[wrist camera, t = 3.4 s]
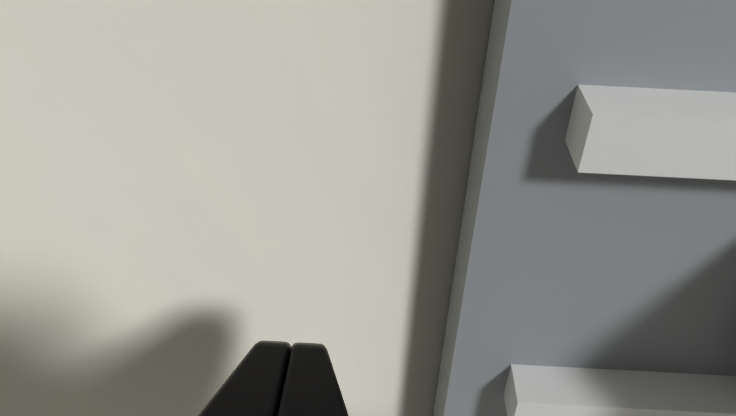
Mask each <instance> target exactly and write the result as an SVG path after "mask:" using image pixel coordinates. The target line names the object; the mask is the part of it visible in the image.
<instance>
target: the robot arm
mask: <svg viewBox="0 0 736 416" xmlns="http://www.w3.org/2000/svg"><path fill="white" fill-rule="evenodd" d="M198 416H348V413H347V409H346V406H345V403H344V400H343V397H342V394H341V391H340V388H339V385H338V382H337V379H336V376H335V373H334V370H333V366H332V363H331V360H330V357H329V354H328V351H327V349H326V347H325V346H324V345H323V344H315V343H295V344H293V346H292V347H291V345H290V344H289V343H287V342H278V341H260V342H258V343H256V344H255V345H254V346H253V347H252V349H251V350H250V351H249V352H248V354H247V355H246V356H245V357H244V359H243V360H242V361H241V363H240V364H239V365H238V366H237V368H236V369H235V370H234V371H233V373H232V374H231V375H230V376H229V378H228V379H227V380H226V381H225V383H224V384H223V385H222V386H221V388H220V389H219V390H218V391H217V393H216V394H215V395H214V396H213V398H212V399H211V400H210V401H209V403H208V404H207V405H206V406H205V408H204V409H203V410H202V412H201V413H200V414H199V415H198Z"/></svg>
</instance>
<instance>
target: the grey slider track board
mask: <svg viewBox="0 0 736 416" xmlns="http://www.w3.org/2000/svg"><path fill="white" fill-rule="evenodd" d="M433 416H736V0H494V6H493V13H492V20H491V26H490V33H489V40H488V47H487V53H486V60H485V67H484V73H483V80H482V87H481V94H480V100H479V107H478V114H477V120H476V127H475V134H474V141H473V147H472V154H471V161H470V167H469V174H468V181H467V188H466V194H465V201H464V208H463V214H462V221H461V228H460V235H459V241H458V248H457V255H456V262H455V268H454V275H453V282H452V288H451V295H450V302H449V309H448V315H447V322H446V329H445V335H444V342H443V349H442V356H441V362H440V369H439V376H438V382H437V389H436V396H435V403H434V409H433Z"/></svg>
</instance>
